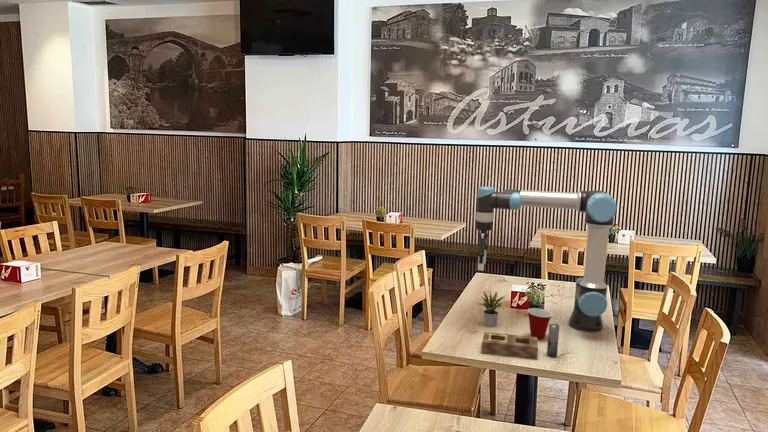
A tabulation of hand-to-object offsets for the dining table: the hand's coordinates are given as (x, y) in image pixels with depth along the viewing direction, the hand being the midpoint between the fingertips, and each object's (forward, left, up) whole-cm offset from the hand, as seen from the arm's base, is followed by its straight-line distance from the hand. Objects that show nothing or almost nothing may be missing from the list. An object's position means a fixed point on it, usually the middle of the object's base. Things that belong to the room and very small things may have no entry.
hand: (481, 266), depth 275 cm
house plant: (-6, -1, -28) cm, 29 cm away
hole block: (-15, +28, -28) cm, 42 cm away
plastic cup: (-27, +8, -28) cm, 40 cm away
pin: (-32, +28, -28) cm, 51 cm away
